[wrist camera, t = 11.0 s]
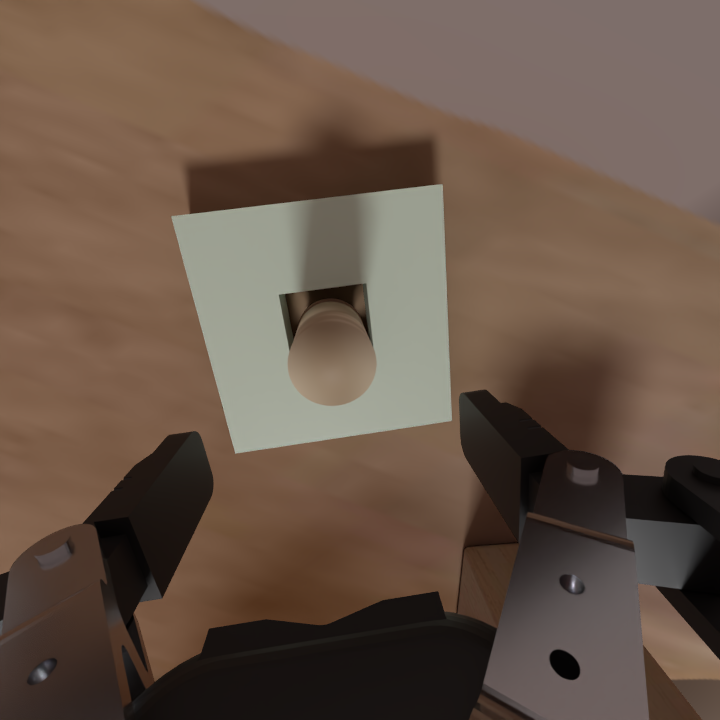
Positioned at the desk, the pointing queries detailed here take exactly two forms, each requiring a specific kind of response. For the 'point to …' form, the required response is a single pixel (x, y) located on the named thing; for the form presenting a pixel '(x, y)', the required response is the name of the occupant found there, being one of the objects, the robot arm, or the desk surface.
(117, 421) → the desk surface
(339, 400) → the peg
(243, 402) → the seat board
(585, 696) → the robot arm
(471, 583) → the wooden block
